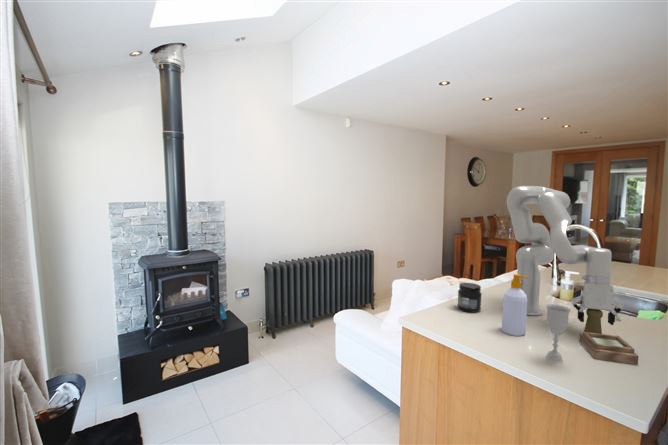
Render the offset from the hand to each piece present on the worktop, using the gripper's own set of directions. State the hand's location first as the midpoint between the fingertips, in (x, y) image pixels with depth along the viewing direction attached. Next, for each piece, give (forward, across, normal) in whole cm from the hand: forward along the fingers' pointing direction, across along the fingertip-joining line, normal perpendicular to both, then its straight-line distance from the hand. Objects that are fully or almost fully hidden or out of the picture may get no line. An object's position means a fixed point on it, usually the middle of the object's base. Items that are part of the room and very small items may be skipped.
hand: (595, 322), depth 131 cm
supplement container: (+5, -46, +16) cm, 48 cm away
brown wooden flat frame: (+6, -2, -14) cm, 16 cm away
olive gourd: (+6, -1, +1) cm, 6 cm away
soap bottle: (+6, -30, -6) cm, 31 cm away
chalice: (+6, -21, -26) cm, 34 cm away
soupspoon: (+6, +20, +34) cm, 40 cm away
